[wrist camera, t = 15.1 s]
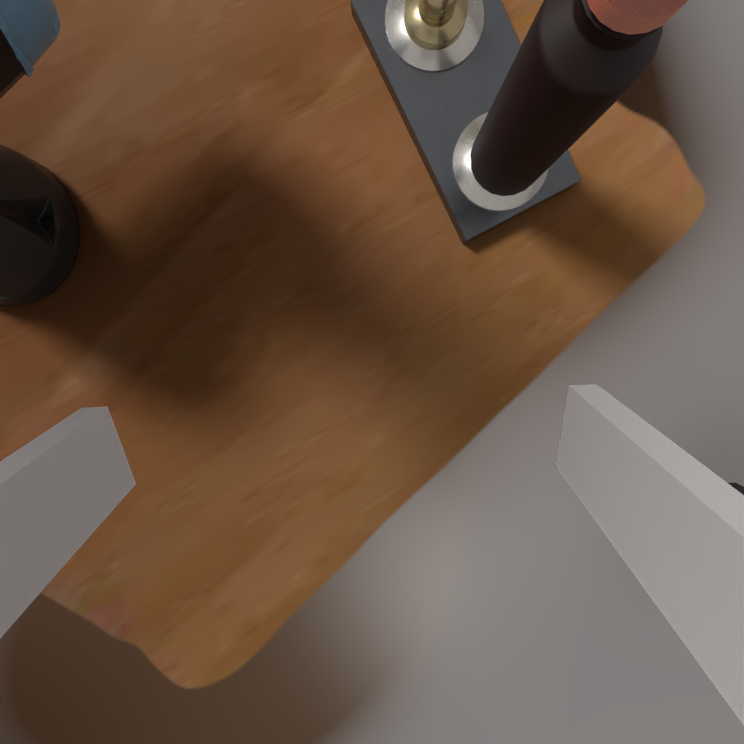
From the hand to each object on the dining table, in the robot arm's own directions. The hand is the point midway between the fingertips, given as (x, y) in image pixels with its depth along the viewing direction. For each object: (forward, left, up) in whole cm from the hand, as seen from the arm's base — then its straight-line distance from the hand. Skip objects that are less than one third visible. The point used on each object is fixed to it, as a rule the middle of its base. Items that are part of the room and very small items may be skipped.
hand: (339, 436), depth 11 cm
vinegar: (-4, +23, -26) cm, 35 cm away
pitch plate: (-11, +25, -28) cm, 39 cm away
